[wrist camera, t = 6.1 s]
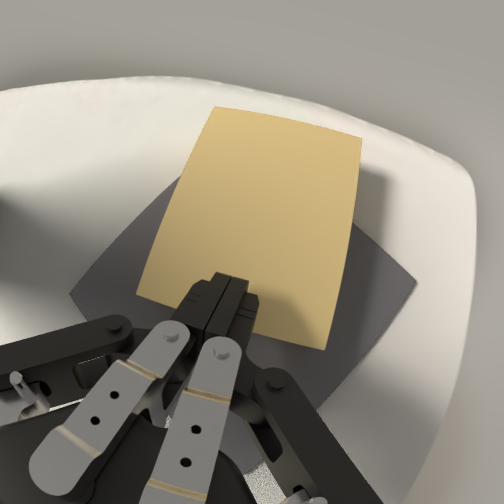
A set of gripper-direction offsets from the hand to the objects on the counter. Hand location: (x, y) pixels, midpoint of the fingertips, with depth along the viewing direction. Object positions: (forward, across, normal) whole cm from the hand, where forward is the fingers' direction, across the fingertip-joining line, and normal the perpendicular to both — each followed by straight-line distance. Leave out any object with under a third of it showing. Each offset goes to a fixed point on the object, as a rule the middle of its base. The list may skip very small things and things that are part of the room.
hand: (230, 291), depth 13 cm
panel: (+1, 0, +3) cm, 3 cm away
